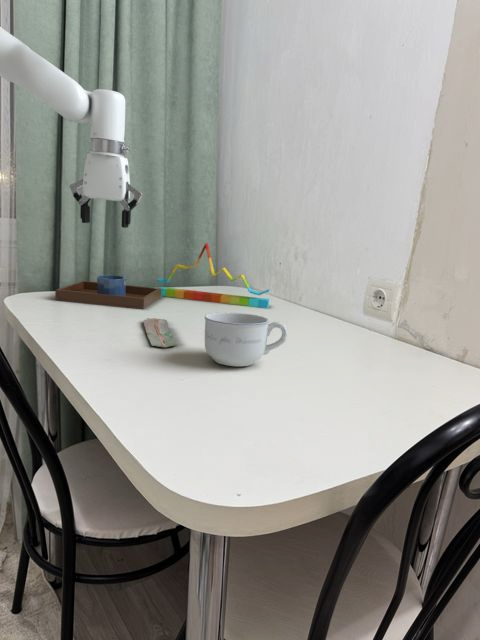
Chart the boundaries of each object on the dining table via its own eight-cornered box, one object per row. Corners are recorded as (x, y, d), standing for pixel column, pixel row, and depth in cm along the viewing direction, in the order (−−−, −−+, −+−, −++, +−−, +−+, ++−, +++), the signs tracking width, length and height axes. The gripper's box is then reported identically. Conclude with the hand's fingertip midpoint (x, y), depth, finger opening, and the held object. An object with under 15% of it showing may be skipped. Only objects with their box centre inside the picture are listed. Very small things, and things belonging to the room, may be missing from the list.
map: (151, 351, 89) (151, 346, 89) (142, 318, 108) (142, 314, 107) (180, 351, 91) (180, 346, 90) (166, 319, 109) (166, 315, 109)
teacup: (193, 365, 82) (195, 318, 80) (214, 349, 93) (217, 306, 90) (276, 379, 80) (281, 330, 77) (288, 360, 90) (293, 316, 88)
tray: (55, 300, 120) (55, 289, 120) (82, 289, 135) (82, 280, 134) (143, 309, 119) (143, 298, 119) (161, 297, 134) (161, 288, 133)
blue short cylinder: (92, 298, 124) (92, 277, 123) (103, 293, 130) (103, 274, 129) (120, 300, 124) (120, 280, 122) (129, 296, 130) (129, 276, 129)
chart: (268, 305, 136) (273, 249, 132) (267, 307, 133) (272, 250, 129) (160, 293, 140) (161, 238, 136) (156, 295, 137) (157, 239, 132)
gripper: (148, 155, 120) (145, 228, 125) (77, 147, 121) (76, 220, 126) (138, 151, 113) (135, 229, 118) (63, 143, 114) (63, 221, 118)
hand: (105, 225), depth 122 cm, fingers open, 9 cm apart
